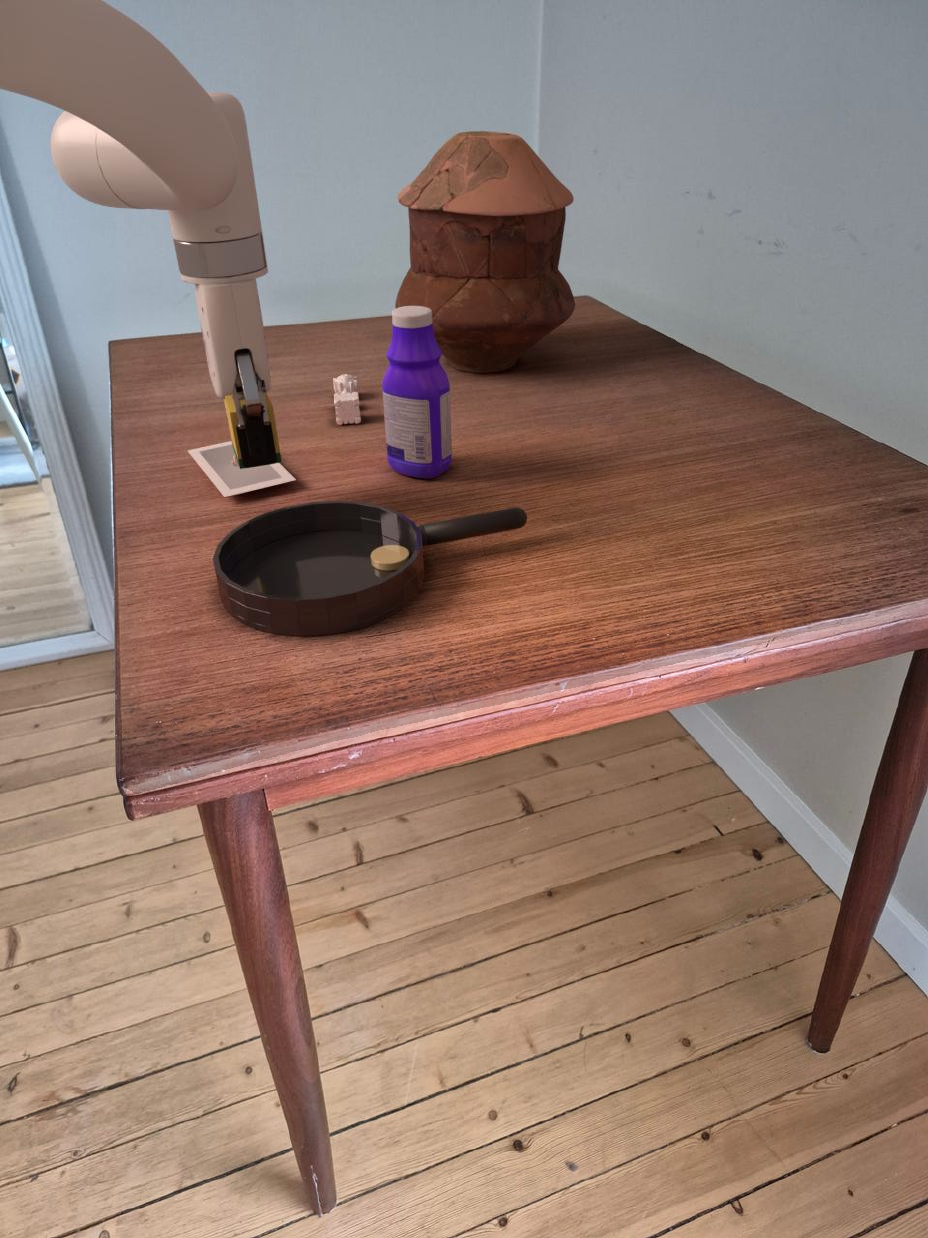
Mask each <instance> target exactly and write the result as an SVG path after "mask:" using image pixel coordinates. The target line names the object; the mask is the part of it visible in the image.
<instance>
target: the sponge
mask: <svg viewBox="0 0 928 1238" xmlns="http://www.w3.org/2000/svg"><path fill="white" fill-rule="evenodd" d="M237 393H243V392H237ZM232 396H233V395H228V396H225V399H223V402H224V407H225V412H226V416H227V423H228V429H229V433H230V439H231V441H232V445H233V449H234V453H235V456H236V459H237V462H238V465H239V468H240V469H243V468H245V467H244V466H243V463H242V458H241V453H240V447H239V442H238V436H237V431H236V426H239V425H238V420H237V415H236V410H235V405H234V400H233V397H232ZM264 397H265V402H266V407H267V412H268V418H269V422H271V425H272V431H273V438H274V444H275V450H276V456H277V462H276V463H280V464H282V461H283V460H282V455H281V454H282V453H281V449H280V441H279V435H278V428H277V422H276V415H275V409H274V405H273V403H272V401H271V400H270V397H269V395H268V392H267V393H264ZM240 402H241V407H243V406H242V405H245V399H244V400H240Z"/></svg>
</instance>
